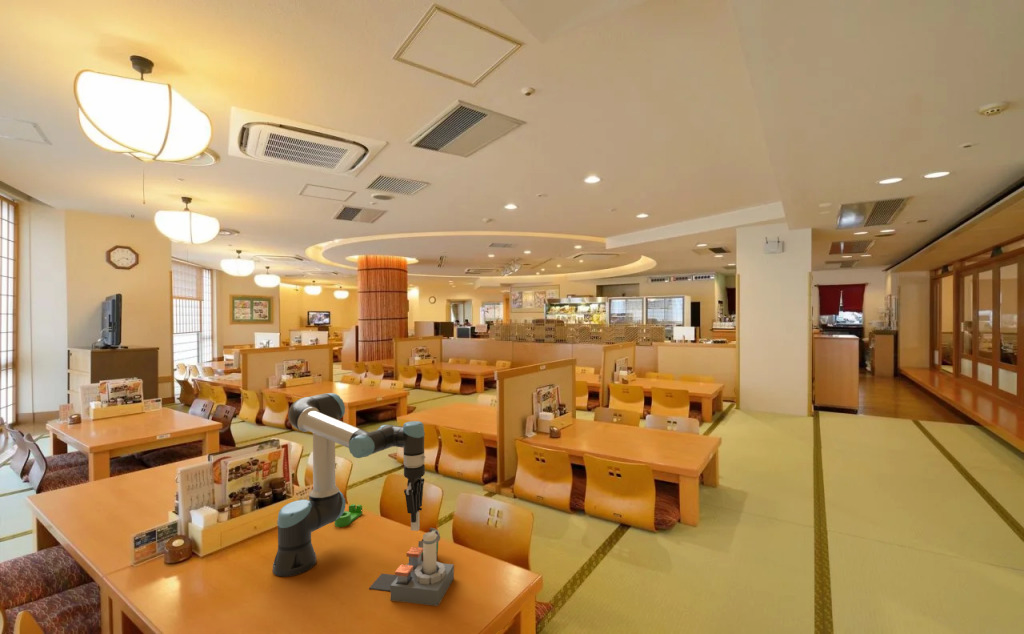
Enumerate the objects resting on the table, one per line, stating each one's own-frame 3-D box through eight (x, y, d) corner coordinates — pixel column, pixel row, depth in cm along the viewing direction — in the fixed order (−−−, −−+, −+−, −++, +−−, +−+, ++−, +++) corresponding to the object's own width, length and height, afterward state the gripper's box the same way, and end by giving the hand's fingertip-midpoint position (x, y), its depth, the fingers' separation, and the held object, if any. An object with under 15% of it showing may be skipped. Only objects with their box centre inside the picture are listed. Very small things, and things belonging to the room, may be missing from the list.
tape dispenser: (344, 528, 201) (344, 518, 201) (331, 527, 203) (331, 517, 203) (362, 514, 216) (362, 505, 216) (350, 513, 217) (350, 504, 217)
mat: (369, 589, 154) (369, 587, 154) (381, 574, 163) (381, 573, 163) (392, 591, 152) (392, 590, 152) (404, 577, 161) (404, 575, 161)
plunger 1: (395, 591, 148) (395, 571, 148) (401, 583, 153) (401, 564, 153) (407, 593, 147) (407, 573, 147) (413, 585, 152) (413, 565, 152)
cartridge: (421, 578, 151) (420, 537, 151) (426, 570, 156) (426, 531, 156) (433, 579, 150) (433, 538, 150) (438, 572, 155) (438, 532, 155)
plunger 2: (406, 571, 157) (406, 553, 157) (412, 564, 162) (411, 546, 162) (418, 573, 156) (418, 554, 156) (423, 566, 161) (423, 547, 161)
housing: (390, 600, 147) (390, 579, 147) (410, 573, 163) (410, 554, 163) (438, 606, 144) (437, 584, 144) (453, 578, 160) (453, 559, 160)
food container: (433, 569, 165) (433, 543, 166) (418, 568, 167) (418, 541, 167) (444, 552, 178) (444, 528, 178) (430, 551, 179) (430, 527, 179)
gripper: (416, 471, 152) (417, 539, 152) (430, 459, 165) (431, 522, 165) (396, 470, 154) (397, 537, 153) (412, 459, 167) (413, 521, 166)
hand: (415, 529), depth 159 cm, fingers closed
